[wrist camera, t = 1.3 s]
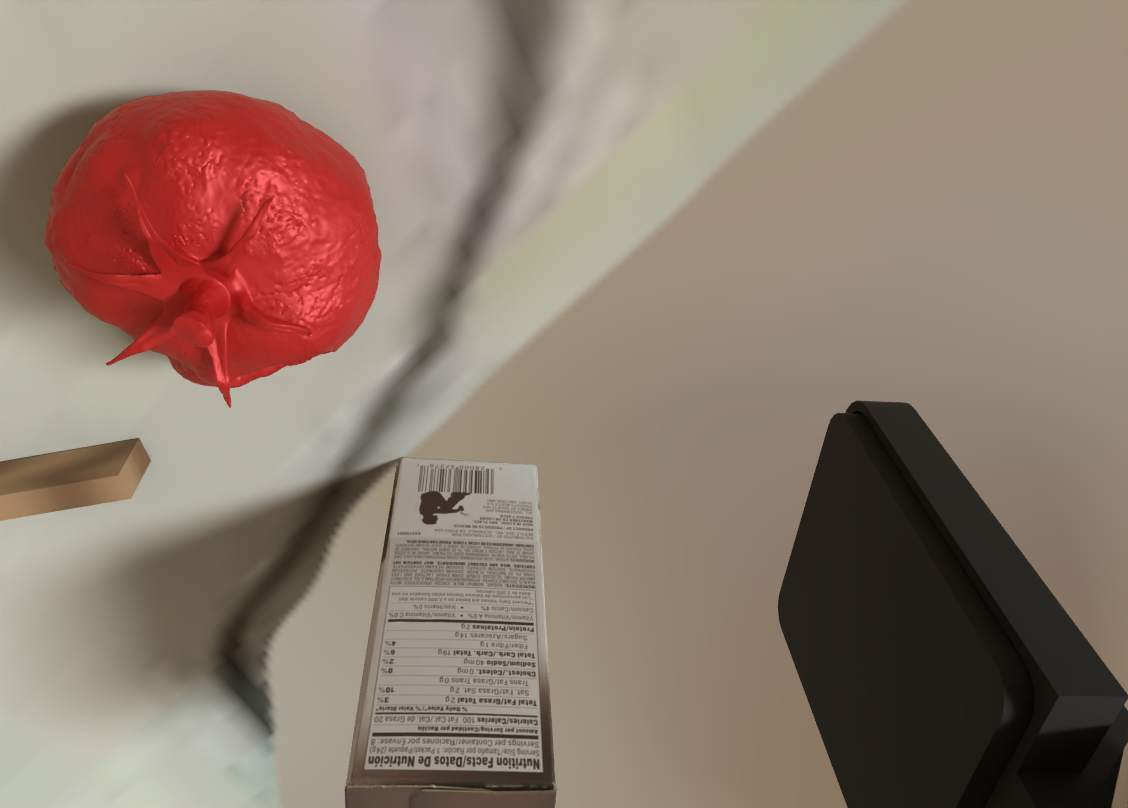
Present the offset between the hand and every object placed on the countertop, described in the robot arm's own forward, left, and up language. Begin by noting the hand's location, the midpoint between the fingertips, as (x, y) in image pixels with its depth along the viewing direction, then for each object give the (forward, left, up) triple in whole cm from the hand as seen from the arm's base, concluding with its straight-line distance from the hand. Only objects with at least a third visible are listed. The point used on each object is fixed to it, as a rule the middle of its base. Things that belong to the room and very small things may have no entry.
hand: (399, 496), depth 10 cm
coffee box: (+5, +22, -24) cm, 33 cm away
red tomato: (+9, +5, -24) cm, 26 cm away
